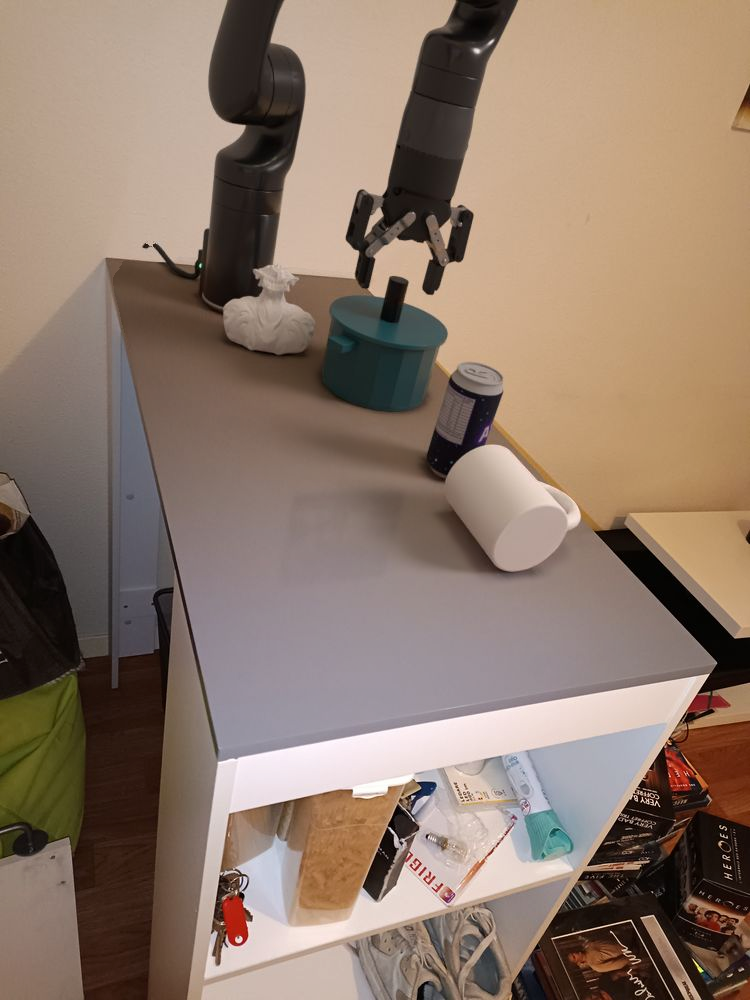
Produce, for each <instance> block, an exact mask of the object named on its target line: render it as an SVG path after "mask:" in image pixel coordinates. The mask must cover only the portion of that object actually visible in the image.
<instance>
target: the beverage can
mask: <svg viewBox="0 0 750 1000" xmlns="http://www.w3.org/2000/svg"><path fill="white" fill-rule="evenodd" d="M503 382H504V375H502V373H501V372H500V371H498V370H497V369H495V368H494V367H492V366H489V365H487V364H484V363H480V362H476V361H463V362H459V364H457V366H456V369H455V370H454V371H453V372H452V373H451V374H450V376H449V380H448V383H447V385H446V390H445V393H444V396H443V399H442V403H441V406H440V409H439V412H438V416H437V420H436V422H435V425H434V429H433V432H432V435H431V439H430V442H429V446H428V449H427V453H426V455H425V459H426V462H427V463H428V465H429V466H430V468H431V469H430V470H431V471H432V472H433V473H434V474H435V475H437V476H438V477H441V478H443V479H445V480H446V478H447V475H448V473H449V471H450V470H451V468H452V467H453V466H454V464H455V463H456V462H457V461H458V460H459V459H460V458H461V457H462V456H464V455H465V454H466V453H468V452H469V451H471V450H473V449H475V448H478V447H481V446H484V445H486V444H487V443H486V442H487V440H488V437H489V434H490V431H491V429H492V426H493V423H494V420H495V417H496V415H497V412H498V409H499V406H500V403H501V400H502V397H503V394H504V385H503Z"/></svg>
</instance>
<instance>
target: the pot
mask: <svg viewBox="0 0 750 1000" xmlns="http://www.w3.org/2000/svg"><path fill="white" fill-rule="evenodd" d="M440 348H441V346H440V347H437V348H434V349H429V350H404V349H397V348H391V347H387V346H383V345H379V344H375V343H372V342H369V341H366V340H364V339H361V338H359V337H357V336H354V335H352V334H350V333H349V332H347V331H345V330H344V329H342V328H341V327H339V326H338V325H337V324H336V323H335V322H334V321H333V320H332V318H331V319H330V324H329V330H328V335H327V339H326V346H325V350H324V356H323V361H322V366H321V380H322V383H323V384H324V386H325V387H326V388H327V389H328V390H329V391H330V392H331V393H333V394H334V395H336V396H337V397H338V398H340V399H342V400H345V401H346V402H348V403H351V404H354V405H356V406H359V407H362V408H365V409H371V410H375V411H383V412H405V411H410V410H413V409H415V408H418V407H419V406H420V405H421V404H422V403H423V402H424V400H425V397H426V396H427V394H428V393H427V392H428V389H429V385H430V383H431V379H432V375H433V372H434V368H435V365H436V361H437V359H438V355H439V352H440Z"/></svg>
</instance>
